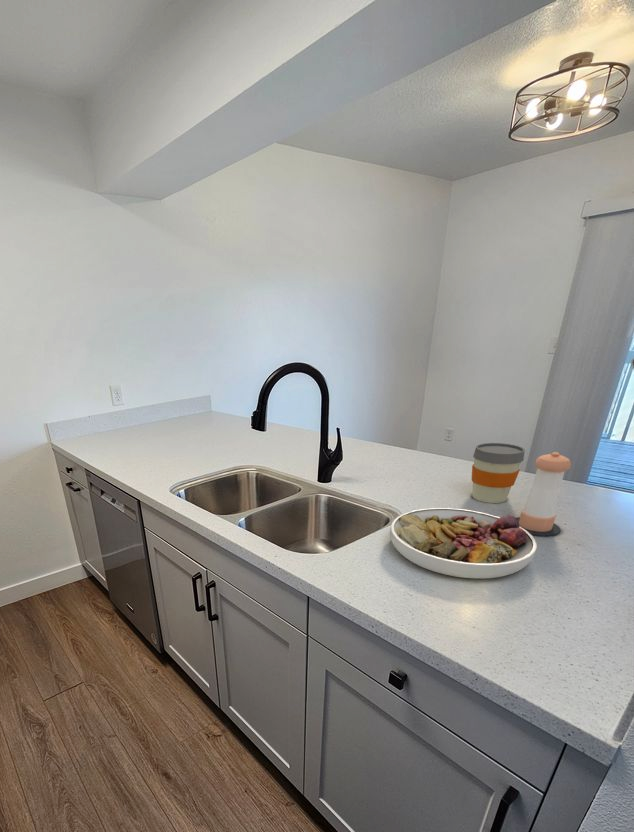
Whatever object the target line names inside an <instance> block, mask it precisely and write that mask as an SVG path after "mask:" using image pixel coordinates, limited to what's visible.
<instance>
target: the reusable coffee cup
mask: <svg viewBox="0 0 634 832" xmlns="http://www.w3.org/2000/svg"><path fill="white" fill-rule="evenodd" d="M525 451H526V450H525V448H523V447H522V446H519V445H516V444H510V443H502V442H485V443H479V444H477V445H476V446H475V449H474V452H473V458H474V459H473V464H472V465H471V482H472V492H471V497H472V498H473V499H474V500H476V501H479V502H483V503H489V504H499V503H504V502H506V501H507V498H508V496H509V493H510V491H511V489H512V487H513V486H514V485H515V483H516V480H517V478H518V475H519V473H520V471H521V468H520V466H521V464H522V462H523V461H524V459H525Z"/></svg>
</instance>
